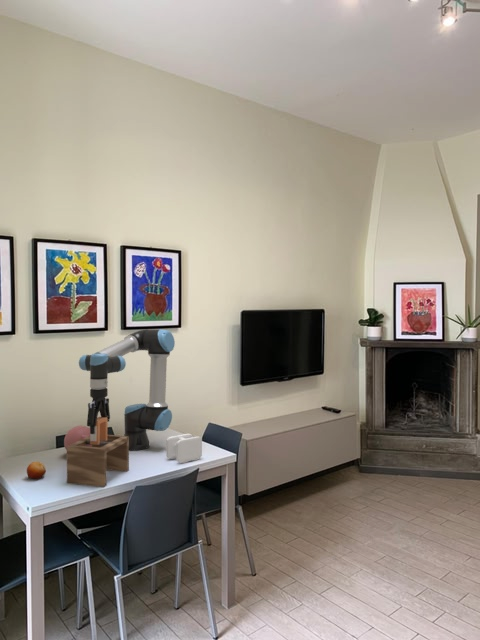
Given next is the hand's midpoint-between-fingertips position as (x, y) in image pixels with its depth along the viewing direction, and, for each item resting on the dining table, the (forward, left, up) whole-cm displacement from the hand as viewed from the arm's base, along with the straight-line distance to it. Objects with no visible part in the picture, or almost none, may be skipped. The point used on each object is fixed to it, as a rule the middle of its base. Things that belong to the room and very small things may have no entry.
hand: (98, 438), depth 214 cm
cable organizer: (-33, +28, -18) cm, 47 cm away
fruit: (+9, -26, -18) cm, 33 cm away
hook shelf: (0, 0, -17) cm, 17 cm away
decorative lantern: (-23, -24, -18) cm, 38 cm away
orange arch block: (0, 0, -2) cm, 2 cm away
